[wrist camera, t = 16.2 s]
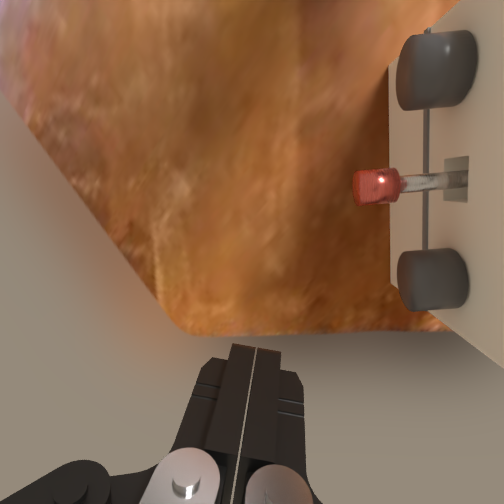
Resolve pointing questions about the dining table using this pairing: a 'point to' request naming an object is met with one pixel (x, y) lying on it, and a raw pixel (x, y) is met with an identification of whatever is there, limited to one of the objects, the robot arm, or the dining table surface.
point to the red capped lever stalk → (401, 184)
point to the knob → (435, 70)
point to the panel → (454, 159)
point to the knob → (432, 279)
